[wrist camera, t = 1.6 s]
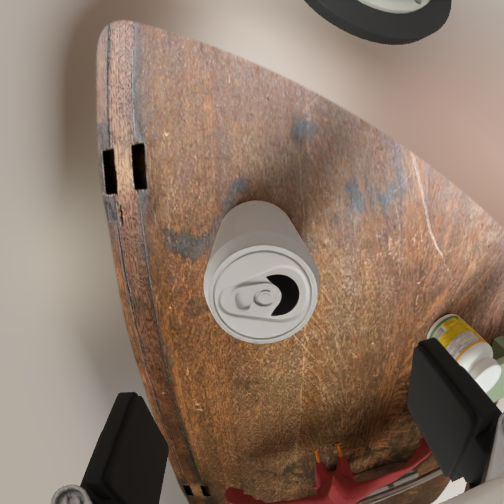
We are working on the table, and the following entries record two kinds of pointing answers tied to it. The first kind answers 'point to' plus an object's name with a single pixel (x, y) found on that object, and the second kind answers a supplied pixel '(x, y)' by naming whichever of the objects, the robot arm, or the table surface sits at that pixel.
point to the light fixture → (396, 486)
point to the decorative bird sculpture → (339, 482)
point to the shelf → (500, 347)
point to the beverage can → (260, 275)
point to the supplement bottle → (467, 349)
